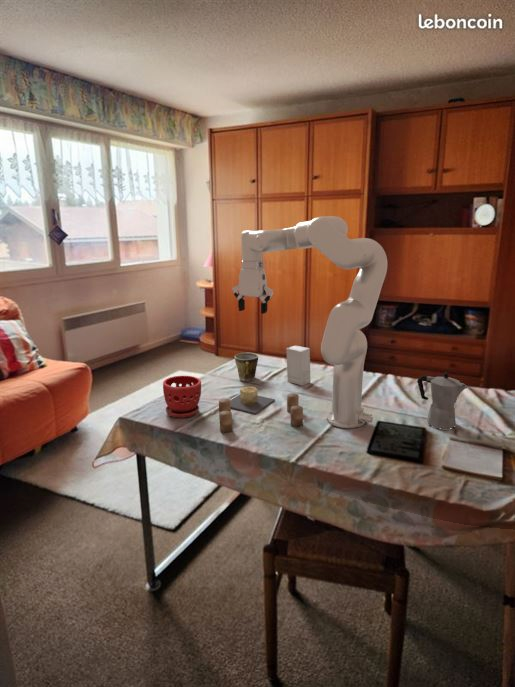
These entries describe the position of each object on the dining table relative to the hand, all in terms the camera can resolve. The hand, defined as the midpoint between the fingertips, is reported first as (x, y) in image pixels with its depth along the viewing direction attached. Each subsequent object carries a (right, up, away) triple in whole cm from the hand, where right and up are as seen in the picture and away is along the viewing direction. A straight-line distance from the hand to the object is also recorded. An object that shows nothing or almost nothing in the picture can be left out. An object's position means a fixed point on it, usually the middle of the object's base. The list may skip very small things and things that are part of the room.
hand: (252, 311), depth 170 cm
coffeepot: (+61, -38, -19) cm, 75 cm away
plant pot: (-24, -36, -8) cm, 45 cm away
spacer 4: (+15, -39, -19) cm, 45 cm away
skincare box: (+19, -28, +20) cm, 39 cm away
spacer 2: (-8, -40, -22) cm, 46 cm away
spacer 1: (-9, -37, -12) cm, 40 cm away
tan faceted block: (-1, -33, -2) cm, 33 cm away
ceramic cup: (-3, -27, +23) cm, 36 cm away
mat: (-1, -34, -1) cm, 34 cm away
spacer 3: (+14, -36, -8) cm, 39 cm away
